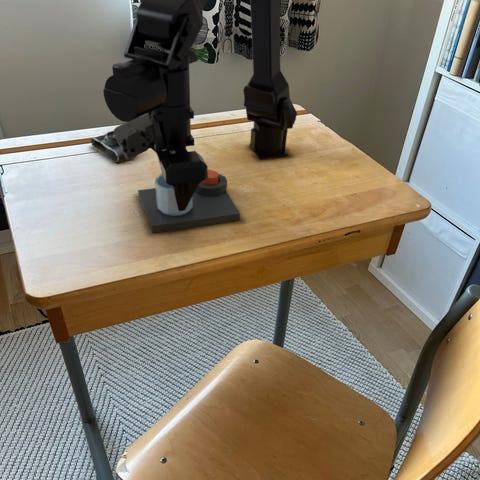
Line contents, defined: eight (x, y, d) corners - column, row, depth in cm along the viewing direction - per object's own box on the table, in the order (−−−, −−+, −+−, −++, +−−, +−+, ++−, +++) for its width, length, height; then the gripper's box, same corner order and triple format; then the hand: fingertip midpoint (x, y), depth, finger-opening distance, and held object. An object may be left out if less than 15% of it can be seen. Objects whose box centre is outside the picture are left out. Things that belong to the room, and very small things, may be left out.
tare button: (215, 177, 92) (215, 169, 91) (220, 184, 90) (220, 176, 89) (199, 179, 92) (199, 170, 91) (204, 186, 90) (204, 178, 88)
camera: (112, 140, 108) (110, 120, 105) (139, 158, 102) (138, 137, 100) (90, 146, 105) (87, 126, 102) (117, 165, 100) (115, 144, 97)
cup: (187, 196, 89) (187, 170, 86) (197, 214, 85) (196, 187, 82) (153, 201, 88) (151, 174, 84) (161, 219, 84) (159, 191, 80)
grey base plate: (220, 185, 96) (221, 170, 94) (242, 220, 87) (243, 204, 85) (138, 195, 91) (136, 180, 89) (152, 233, 83) (150, 217, 81)
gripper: (104, 82, 79) (117, 176, 89) (125, 130, 66) (136, 233, 76) (175, 77, 82) (179, 169, 92) (208, 123, 69) (208, 223, 79)
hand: (174, 196), depth 85 cm, fingers open, 9 cm apart
